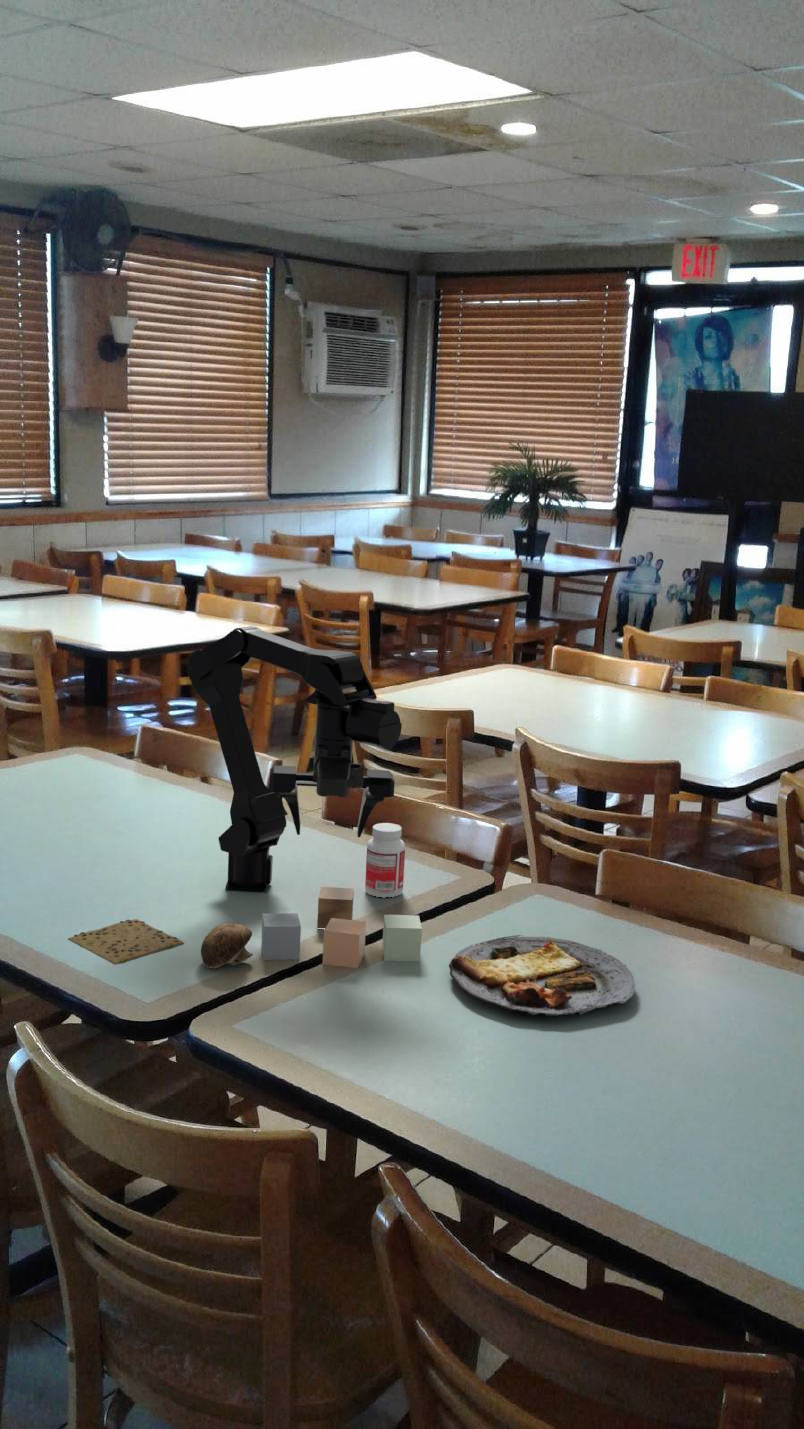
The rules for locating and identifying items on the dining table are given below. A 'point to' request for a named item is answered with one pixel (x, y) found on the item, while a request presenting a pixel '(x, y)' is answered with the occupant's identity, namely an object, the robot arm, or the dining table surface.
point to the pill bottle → (385, 861)
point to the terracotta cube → (344, 942)
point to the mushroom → (226, 945)
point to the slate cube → (280, 936)
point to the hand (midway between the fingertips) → (328, 835)
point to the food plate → (542, 975)
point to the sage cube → (401, 938)
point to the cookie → (125, 941)
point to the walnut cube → (334, 904)
